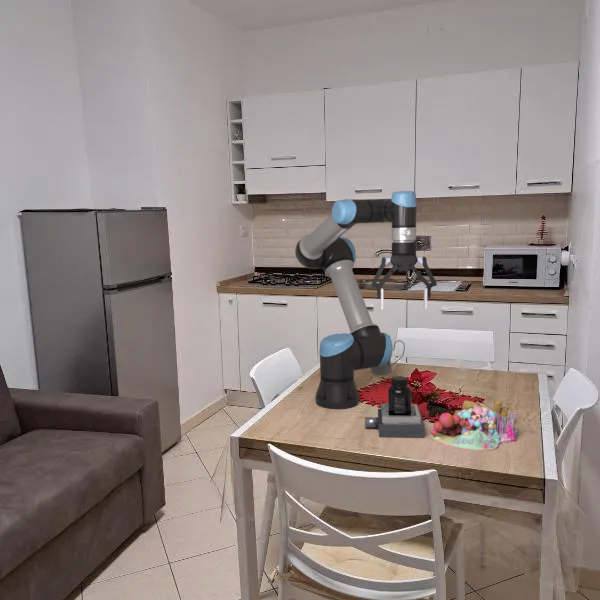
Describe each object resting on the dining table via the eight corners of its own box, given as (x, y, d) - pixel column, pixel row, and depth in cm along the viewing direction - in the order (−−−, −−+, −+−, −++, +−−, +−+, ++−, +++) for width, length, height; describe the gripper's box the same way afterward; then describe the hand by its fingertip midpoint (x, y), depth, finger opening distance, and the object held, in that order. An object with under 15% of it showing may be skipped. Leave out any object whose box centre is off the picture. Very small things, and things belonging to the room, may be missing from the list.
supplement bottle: (415, 416, 168) (415, 377, 166) (403, 422, 163) (403, 383, 161) (396, 411, 172) (396, 373, 171) (383, 417, 167) (383, 378, 166)
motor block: (365, 436, 163) (365, 417, 162) (365, 420, 176) (364, 402, 175) (424, 438, 161) (424, 418, 160) (419, 421, 174) (419, 403, 173)
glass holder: (373, 368, 235) (373, 333, 233) (407, 370, 229) (407, 335, 227) (367, 373, 227) (367, 337, 225) (402, 376, 221) (402, 340, 219)
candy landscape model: (438, 416, 179) (438, 388, 178) (516, 424, 171) (517, 395, 169) (426, 446, 156) (426, 415, 155) (516, 458, 148) (517, 425, 146)
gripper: (363, 242, 171) (364, 310, 174) (446, 241, 168) (445, 310, 171) (363, 241, 178) (364, 306, 182) (442, 240, 175) (442, 306, 179)
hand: (403, 308), depth 176 cm, fingers open, 13 cm apart
